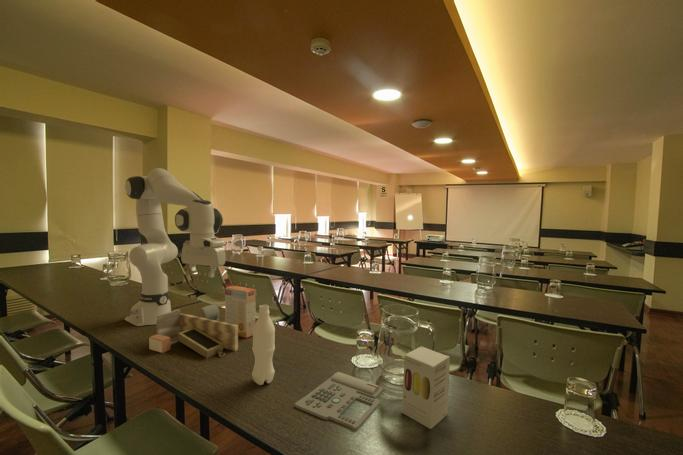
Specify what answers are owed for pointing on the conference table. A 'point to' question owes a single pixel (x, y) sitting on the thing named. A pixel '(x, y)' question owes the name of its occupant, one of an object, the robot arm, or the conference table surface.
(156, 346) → the orange brown block
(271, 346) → the water bottle
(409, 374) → the supplement box
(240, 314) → the cracker box
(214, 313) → the ceramic mug
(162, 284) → the robot arm
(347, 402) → the office telephone
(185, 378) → the conference table surface
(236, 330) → the shelf
